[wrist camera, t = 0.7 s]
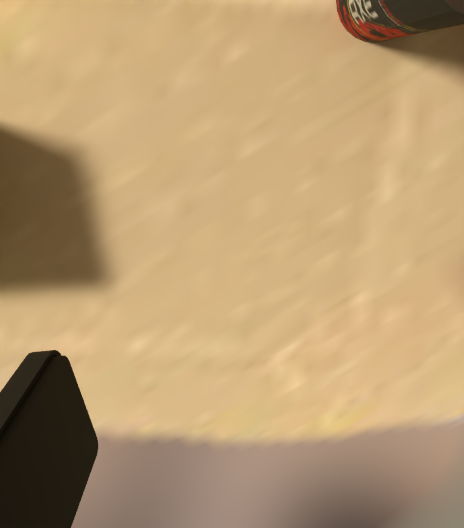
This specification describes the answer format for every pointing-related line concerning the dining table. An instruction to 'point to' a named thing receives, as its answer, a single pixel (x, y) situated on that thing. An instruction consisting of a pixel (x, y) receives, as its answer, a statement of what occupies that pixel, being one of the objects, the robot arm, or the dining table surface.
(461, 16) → the deodorant
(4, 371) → the dining table surface
